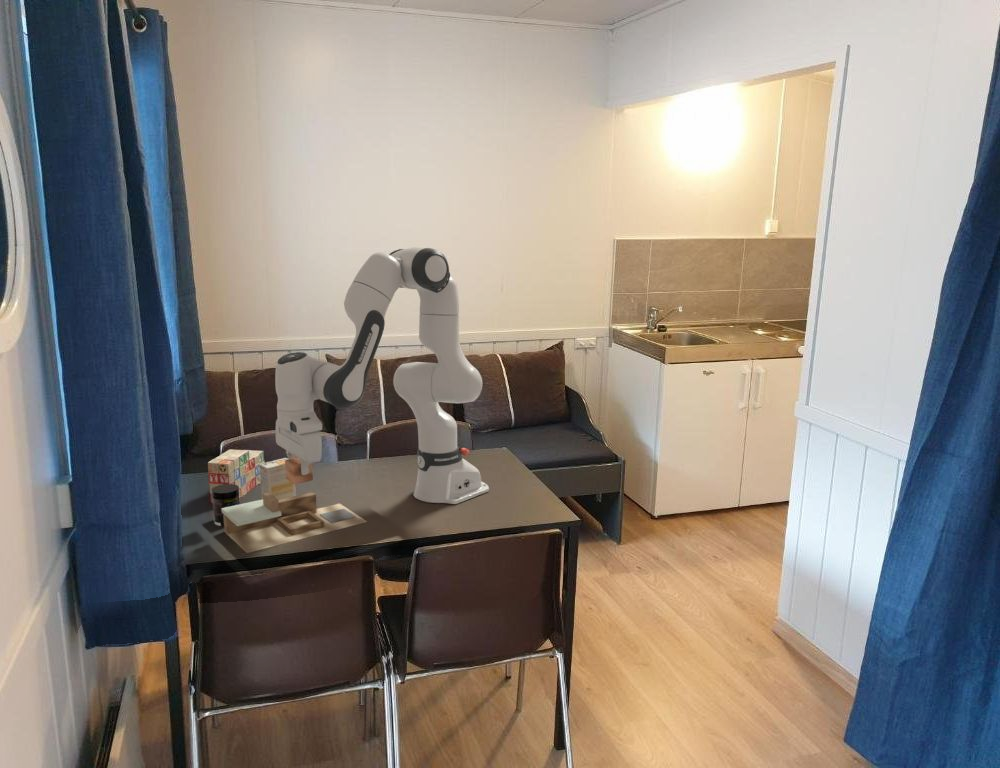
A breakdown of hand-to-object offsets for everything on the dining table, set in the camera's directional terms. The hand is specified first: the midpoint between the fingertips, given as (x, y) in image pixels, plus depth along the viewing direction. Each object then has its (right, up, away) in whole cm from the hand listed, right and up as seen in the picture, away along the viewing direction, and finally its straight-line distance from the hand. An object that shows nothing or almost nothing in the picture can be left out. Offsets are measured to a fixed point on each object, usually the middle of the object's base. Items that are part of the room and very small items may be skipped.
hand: (298, 470), depth 198 cm
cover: (-11, -10, -4) cm, 16 cm away
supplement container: (-20, -15, +6) cm, 26 cm away
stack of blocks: (-25, -10, +31) cm, 41 cm away
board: (-1, -16, +3) cm, 16 cm away
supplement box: (-10, -13, +19) cm, 25 cm away
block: (0, -2, +1) cm, 2 cm away
